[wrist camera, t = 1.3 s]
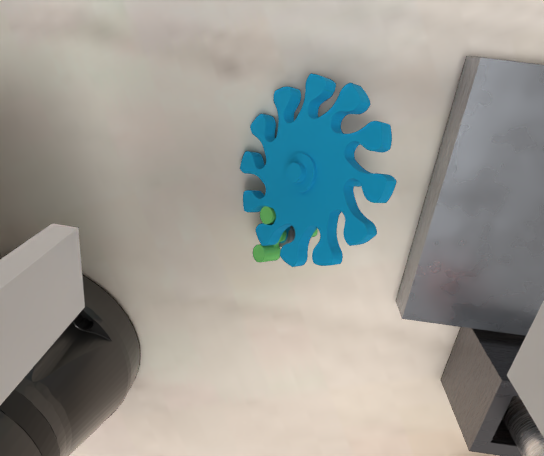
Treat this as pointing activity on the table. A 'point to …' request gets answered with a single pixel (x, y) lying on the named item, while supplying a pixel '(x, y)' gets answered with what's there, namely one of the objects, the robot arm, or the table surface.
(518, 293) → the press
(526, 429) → the plunger
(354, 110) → the blue lobed star wheel
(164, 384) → the table surface
